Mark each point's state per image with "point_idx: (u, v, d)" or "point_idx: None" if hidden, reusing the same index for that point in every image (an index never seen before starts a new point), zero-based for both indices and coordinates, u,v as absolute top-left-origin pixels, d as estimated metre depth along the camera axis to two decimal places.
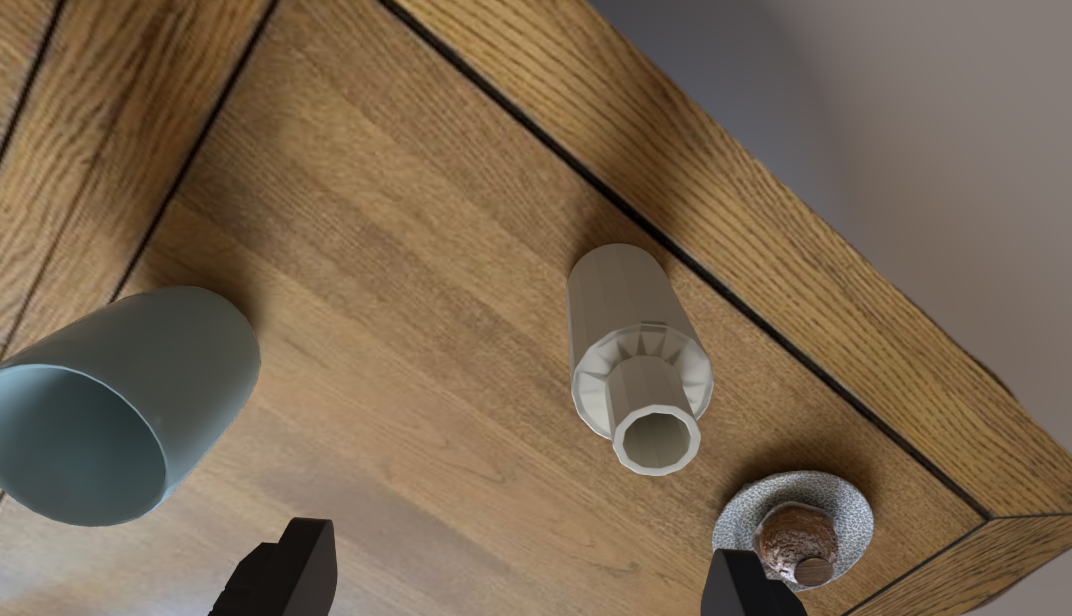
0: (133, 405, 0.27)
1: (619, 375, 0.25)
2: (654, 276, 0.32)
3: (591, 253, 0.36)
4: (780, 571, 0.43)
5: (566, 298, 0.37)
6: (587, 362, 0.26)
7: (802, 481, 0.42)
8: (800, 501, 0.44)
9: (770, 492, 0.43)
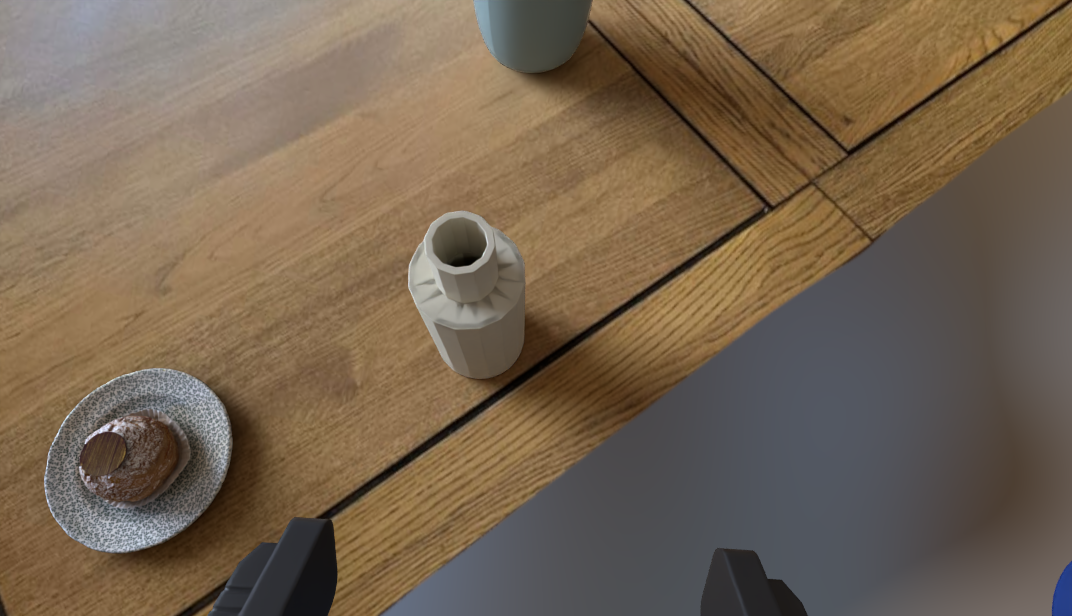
0: None
1: None
2: (511, 346, 0.38)
3: None
4: (111, 424, 0.37)
5: None
6: (502, 239, 0.33)
7: (210, 475, 0.39)
8: None
9: (207, 440, 0.40)
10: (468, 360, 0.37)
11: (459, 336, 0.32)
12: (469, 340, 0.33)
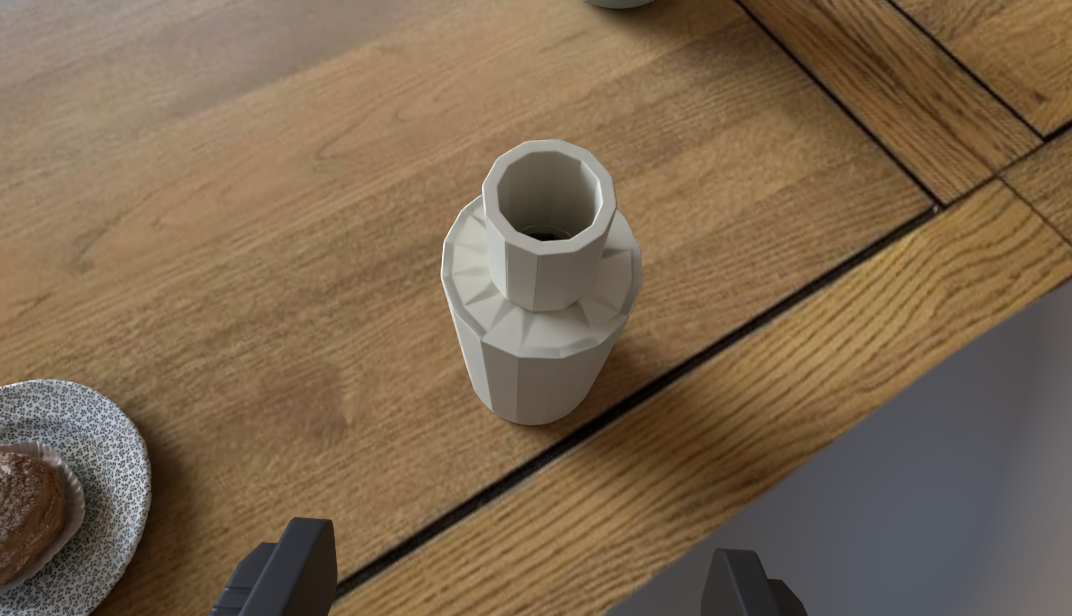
0: None
1: None
2: (588, 383, 0.24)
3: None
4: None
5: None
6: None
7: (110, 552, 0.25)
8: (63, 545, 0.26)
9: (113, 495, 0.26)
10: (521, 402, 0.24)
11: (522, 368, 0.19)
12: (536, 374, 0.19)
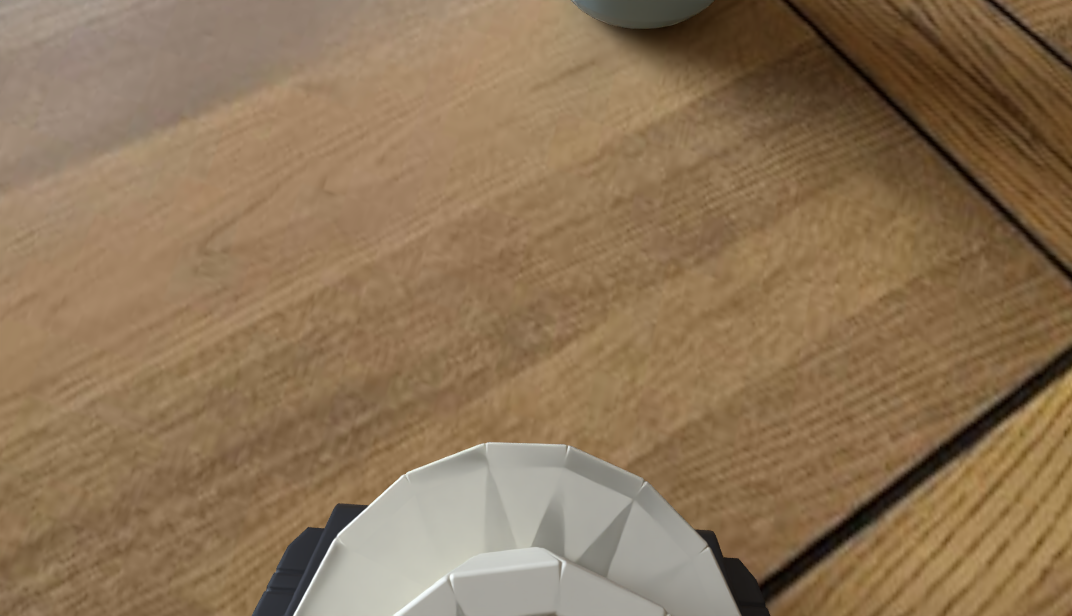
0: None
1: None
2: None
3: None
4: None
5: None
6: (661, 525, 0.09)
7: None
8: None
9: None
10: None
11: None
12: None
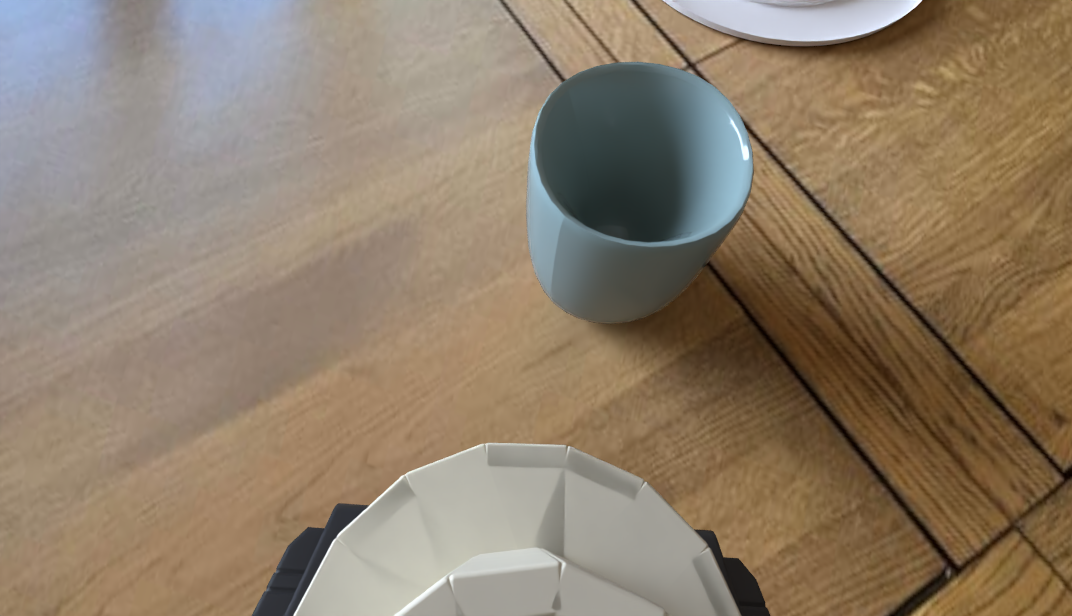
0: (680, 244, 0.24)
1: None
2: None
3: None
4: None
5: None
6: (661, 525, 0.09)
7: None
8: None
9: None
10: None
11: None
12: None
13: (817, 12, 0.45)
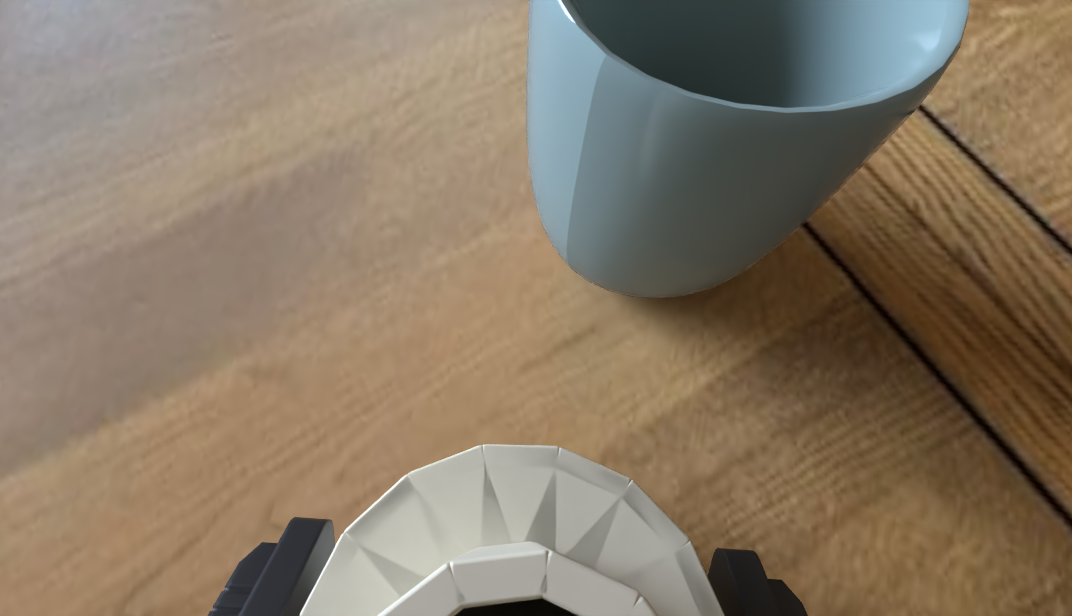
0: (845, 109, 0.11)
1: None
2: None
3: None
4: None
5: None
6: (645, 521, 0.09)
7: None
8: None
9: None
10: None
11: None
12: None
13: None
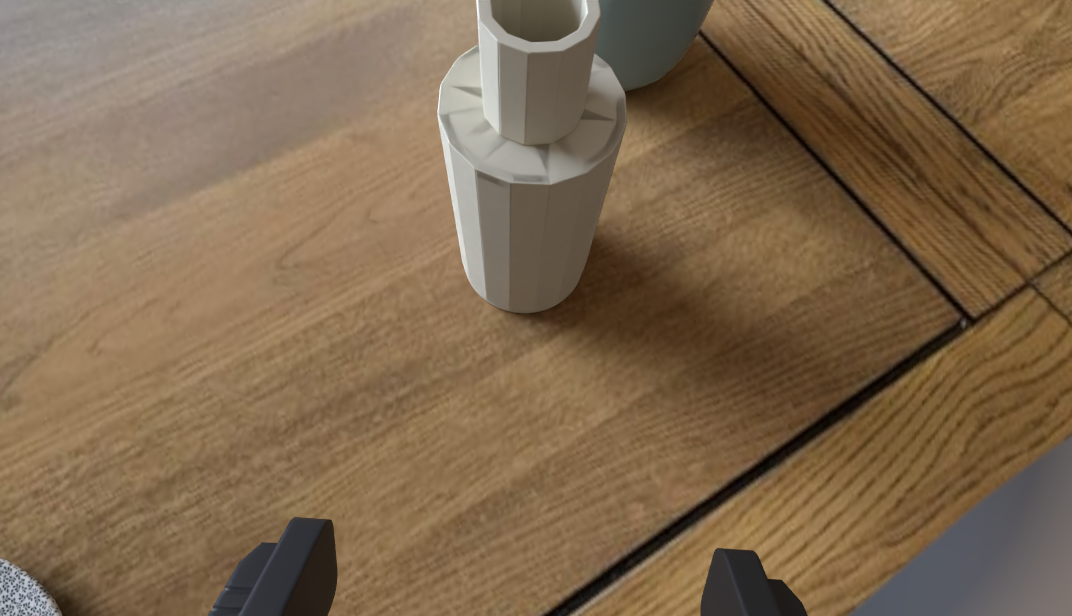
0: None
1: None
2: (577, 255, 0.26)
3: None
4: None
5: None
6: None
7: None
8: None
9: None
10: (513, 268, 0.25)
11: (514, 204, 0.20)
12: (527, 215, 0.21)
13: None
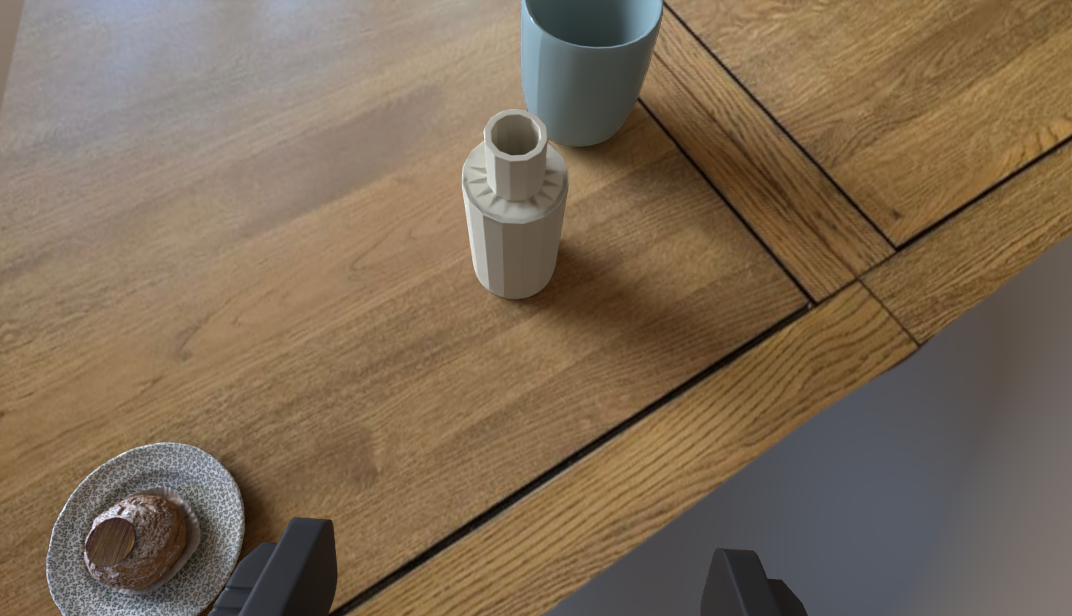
0: (614, 47, 0.38)
1: None
2: (546, 261, 0.41)
3: None
4: (121, 506, 0.36)
5: None
6: (548, 149, 0.36)
7: (219, 563, 0.37)
8: None
9: (218, 524, 0.38)
10: (506, 270, 0.40)
11: (504, 233, 0.35)
12: (512, 239, 0.36)
13: None
